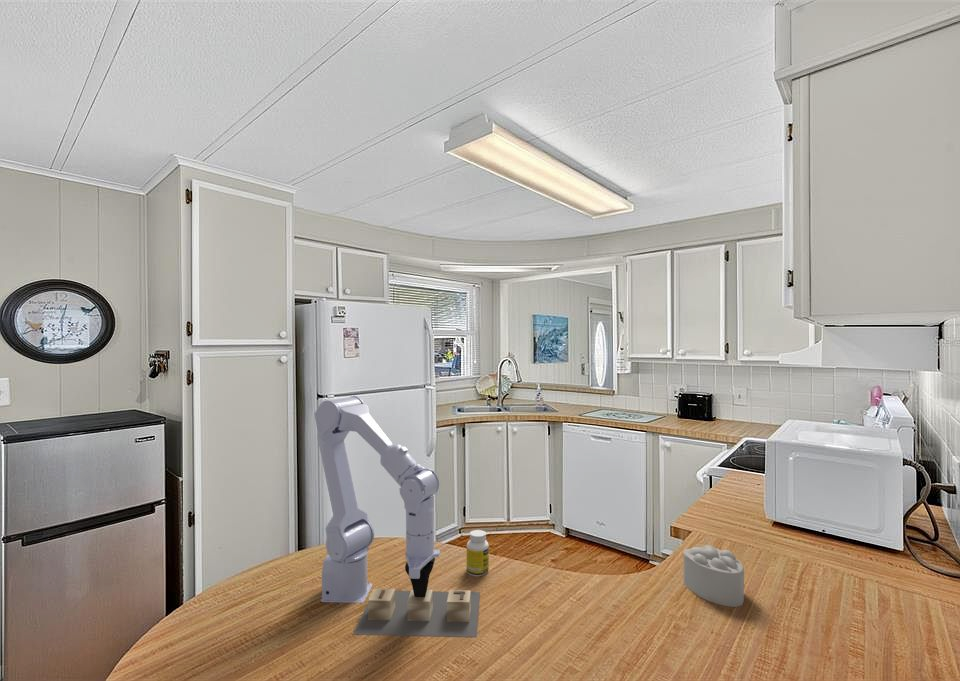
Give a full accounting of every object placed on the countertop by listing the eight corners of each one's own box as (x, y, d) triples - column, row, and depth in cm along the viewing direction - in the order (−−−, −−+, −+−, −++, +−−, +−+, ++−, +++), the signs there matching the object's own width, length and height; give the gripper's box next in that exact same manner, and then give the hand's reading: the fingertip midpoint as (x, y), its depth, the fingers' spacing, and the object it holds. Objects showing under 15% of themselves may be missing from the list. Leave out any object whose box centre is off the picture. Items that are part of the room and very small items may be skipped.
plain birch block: (407, 620, 97) (407, 601, 97) (411, 608, 102) (411, 589, 102) (429, 621, 97) (429, 601, 97) (432, 608, 102) (432, 589, 102)
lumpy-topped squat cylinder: (713, 574, 117) (713, 538, 117) (757, 603, 105) (757, 563, 105) (676, 580, 114) (677, 543, 114) (717, 610, 102) (717, 569, 102)
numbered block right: (447, 621, 97) (446, 601, 97) (449, 608, 102) (449, 589, 101) (469, 622, 97) (469, 601, 97) (470, 609, 101) (470, 589, 101)
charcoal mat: (352, 637, 93) (352, 634, 93) (374, 592, 109) (374, 590, 109) (477, 640, 92) (477, 637, 92) (480, 594, 108) (480, 592, 108)
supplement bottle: (486, 579, 115) (486, 538, 115) (464, 577, 116) (464, 536, 116) (490, 568, 120) (490, 529, 120) (469, 566, 121) (469, 527, 121)
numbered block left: (368, 619, 98) (368, 599, 98) (374, 607, 102) (373, 587, 102) (390, 620, 97) (390, 599, 97) (395, 607, 102) (395, 588, 102)
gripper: (434, 546, 92) (435, 617, 92) (443, 517, 106) (443, 578, 107) (398, 545, 92) (398, 616, 92) (411, 517, 107) (412, 578, 107)
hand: (420, 596), depth 99 cm, fingers closed, pressing on plain birch block
